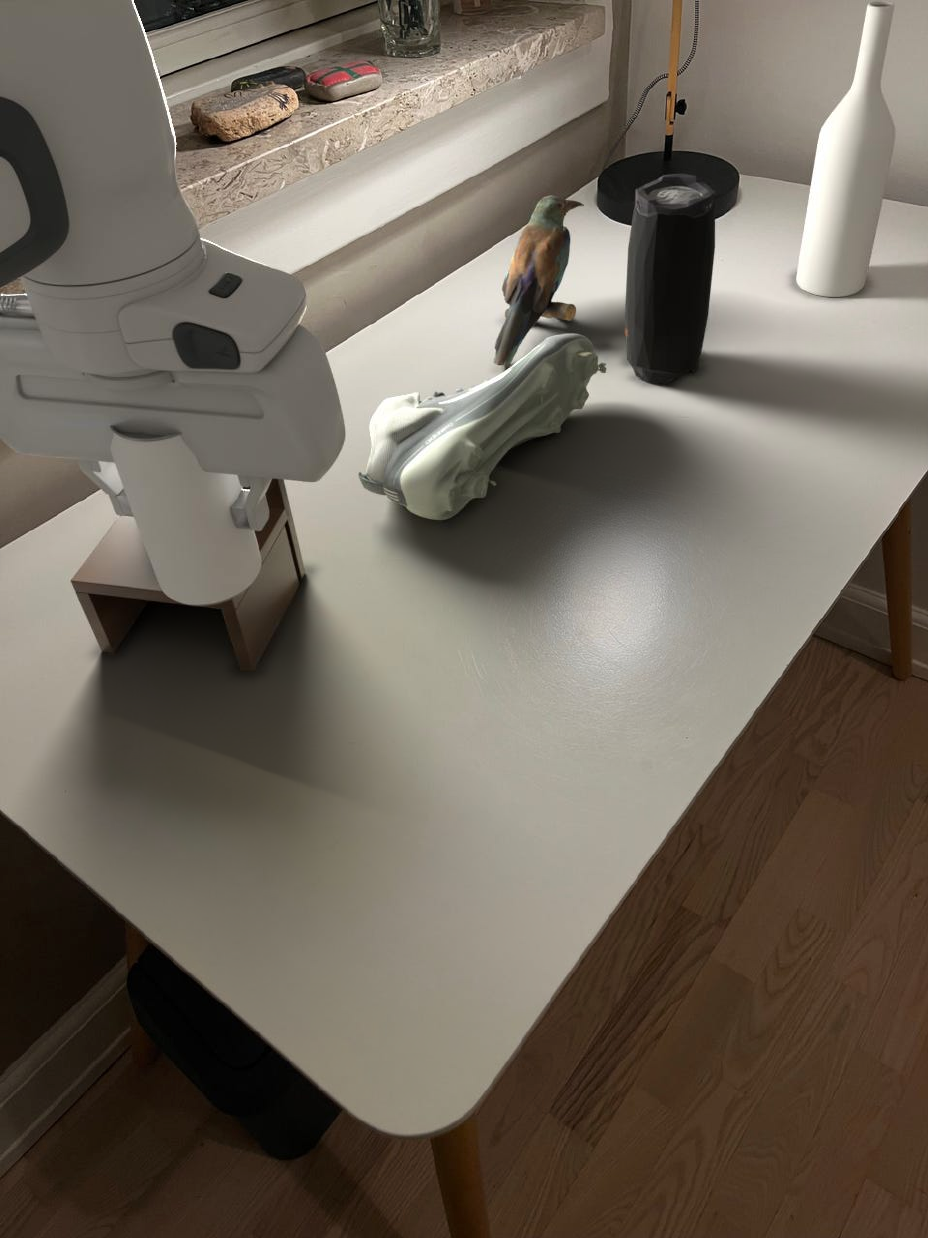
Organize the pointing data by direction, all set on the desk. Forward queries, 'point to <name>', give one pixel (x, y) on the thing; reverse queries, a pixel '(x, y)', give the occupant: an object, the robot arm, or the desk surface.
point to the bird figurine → (535, 276)
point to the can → (185, 519)
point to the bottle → (850, 173)
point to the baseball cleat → (474, 428)
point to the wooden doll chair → (127, 581)
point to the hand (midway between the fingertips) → (194, 517)
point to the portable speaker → (669, 276)
